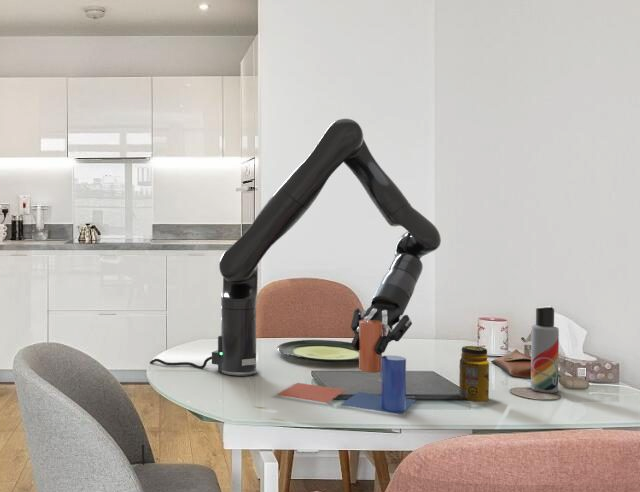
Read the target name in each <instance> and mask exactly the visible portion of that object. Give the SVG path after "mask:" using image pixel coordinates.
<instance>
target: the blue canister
mask: <svg viewBox="0 0 640 492" xmlns="http://www.w3.org/2000/svg"><path fill="white" fill-rule="evenodd" d="M380 395H381V408H382V409H383V410H385V411H389V412H404V411H405V410H406V399H407V358H406V357H405V356H401V355H392V354H390V355H389V354H387V355H382V357H381V372H380ZM406 411H407V410H406ZM406 411H405V412H406ZM389 412H388V413H389ZM405 412H404V413H405Z"/></svg>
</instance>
